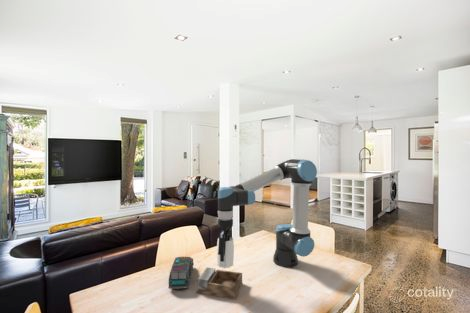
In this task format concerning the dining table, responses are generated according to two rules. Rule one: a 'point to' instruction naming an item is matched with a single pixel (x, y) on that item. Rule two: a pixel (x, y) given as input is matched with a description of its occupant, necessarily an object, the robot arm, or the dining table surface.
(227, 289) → the wooden open tray
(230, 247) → the cup
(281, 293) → the dining table surface
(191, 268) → the toy van
